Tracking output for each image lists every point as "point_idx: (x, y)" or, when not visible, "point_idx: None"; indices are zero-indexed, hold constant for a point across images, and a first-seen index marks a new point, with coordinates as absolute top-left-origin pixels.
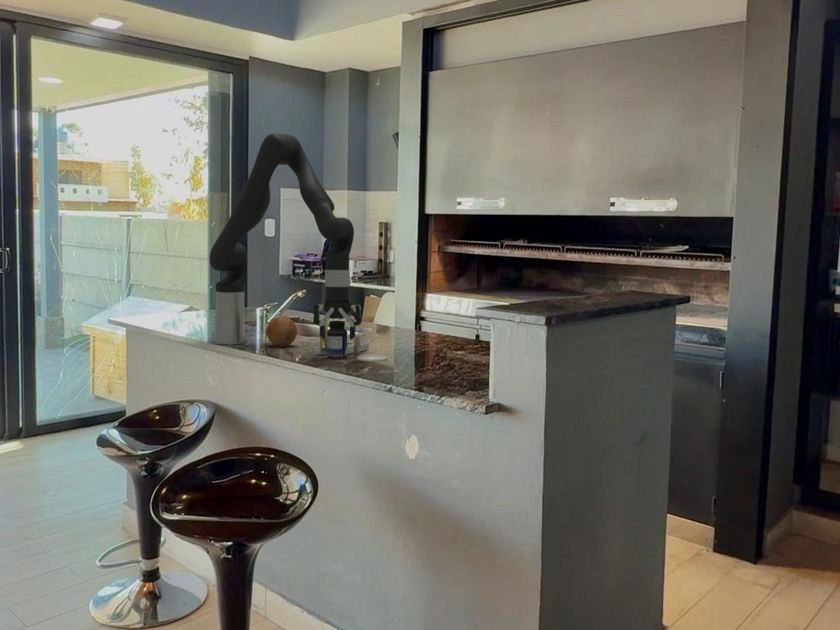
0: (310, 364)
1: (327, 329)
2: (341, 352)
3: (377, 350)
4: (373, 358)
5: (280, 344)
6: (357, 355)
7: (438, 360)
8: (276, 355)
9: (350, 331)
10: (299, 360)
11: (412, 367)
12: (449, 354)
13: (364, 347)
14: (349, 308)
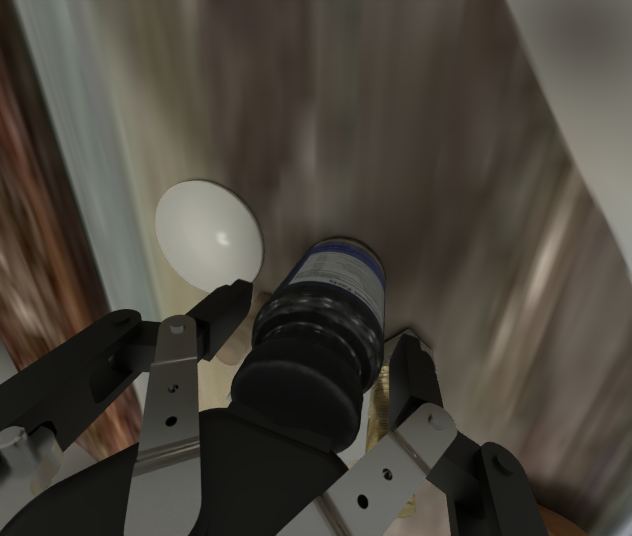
0: (512, 85)
1: (367, 449)
2: (317, 247)
3: (215, 378)
4: (194, 202)
5: (544, 508)
6: (263, 295)
7: (15, 192)
8: (626, 371)
9: (223, 304)
10: (543, 227)
11: (26, 14)
12: (32, 288)
13: None
14: (41, 498)
